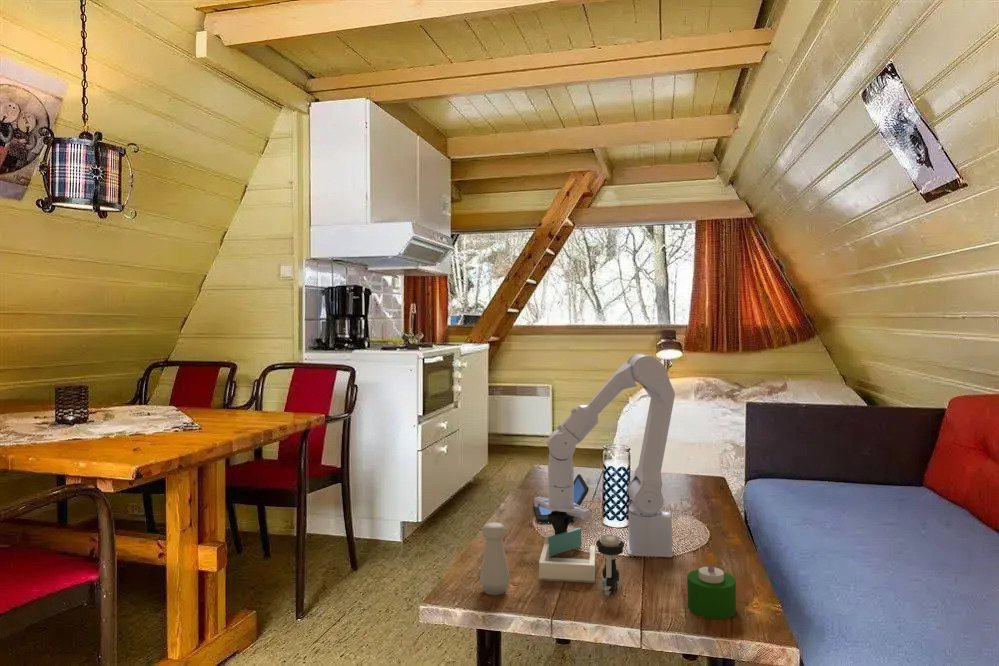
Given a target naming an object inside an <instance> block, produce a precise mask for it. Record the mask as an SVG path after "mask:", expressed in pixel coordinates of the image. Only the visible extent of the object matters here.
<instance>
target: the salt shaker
mask: <svg viewBox="0 0 999 666" xmlns="http://www.w3.org/2000/svg"><path fill="white" fill-rule="evenodd" d="M482 535H483V538H485V543H484V550H483V558H482V562H481V569H480V576H479V582H480V584H481V586H482V588H483V589H484V592H485V594H487V595H491V596H497V595H503V594H505V591H506V590H507V587H508V585H509V583H510V579H511V578H510V572H509V566H508V562H507V561H508V560H507V557H506V556H507V555H506V552H505V551H506V550H505V546H504V541H503V538H504V537H505V535H506V527H505V525H504V524H503V523H500V522H487V523H486V524H484V525H483V529H482Z"/></svg>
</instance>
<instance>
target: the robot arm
mask: <svg viewBox="0 0 999 666" xmlns="http://www.w3.org/2000/svg"><path fill="white" fill-rule="evenodd" d="M667 372H668V371H667V368H666V367H665V366H664V365H663V364H662V362H661V361H660V360H659V359H657V358H656V357H655V356H652V355H648V354H646V353H640V352H638V353H635V354H633V355H632V356H630V357H629V359H628V360H627V362H624V363H622V365H621V366H619V367H618V369H617V370H616V371H615V372H614V373H613V374H612V375H611V376H610V377H609V379H608V380H607V381H606V382H605V383H604V384H603V386H602V387H601V388H600V389H599V390H598V392H597V393H596V394H595V395H594V396H593V397H592V398H591V400H590V401H589V402H588V404H580V405H578V406H577V407H575V406H573V407H572V408H571V409H570V414H569V415H568V417H567V418H566V419H565V420H564V421H563V422H562V424H560V423H559V424H557V425H556V429H557V430H554V431H552V432H551V433H550V434H549V436H548V438H547V441H546V445H547V448H548V450H549V454H548V465H547V470H548V471H547V472H548V473H547V478H548V479H547V480H548V482H547V484H548V485H547V489H548V490H547V492H548V493H547V497H545V496H538V497H537V496H536V497H533V499H534V502H533V503H534V506H535V507H543V508H546V509H547V510H550V511H552V512H551V513H550V514H548V519H549V520H550V522H551V523H550V524H551V526H552V528H553V531H554V535H557V534H560V533H563V532H566V531H568V528H569V525H570V521H571V519H572V518H573V519H574V517H575V518H579V519H580V520H582V521H586V520H589V519H590V517H591V516H590V509H589V508H585V507H583V506H582V505H580V506H579V505H577V504H575V503H574V480H575V477H574V473H575V472H574V463H573V457H574V456H573V455H574V454H575V452H576V448H577V447H576V445H577V444H578V445H579V444H580V443H581V442H582V441H583V440H584V439H585V437H586V436H588V434H589V433H590V432H591V431H592V430H593V429H594V428H595V427H596V426H597V425H598V424H599V415H600V413H602V411H603V410H605V408H606V407H607V406H608V405H609V404H610V403H612V401H613V400H614V399H615V398H616V397H617V396H619V394H620V393H621V392H623V391H624V390H626V389H630V388H631V389H632V388H637V387H638V384H639V385H641V386H642V388H643V389H644V391H645V392H646V393H647V394H648V396H649V397H650V401H649V406H648V412H647V418H646V423H645V427H644V433H643V439H642V446H641V450H640V455H639V461H638V466H637V467H636V468H635V471H634V475H633V478H632V479H631V481H630V482H629V483H628V486H627V495H628V496H629V498H630V499H631V504H630V505H629V507H628V541H626V547H627V548H626V549H627V555H628V556H635V557H636V556H637V557H657V558H673V544H674V543H673V541H674V539H673V528H672V525H673V524H672V514H671V512H670V511H664V510H662V508H663V506H664V496H663V493H662V487H663V486H662V485H663V479H662V478H663V477H662V467H663V463H664V462H663V461H664V457H665V452H666V446H667V441H668V435H669V429H670V423H671V419H672V413H673V408H674V401H675V397H676V396H675V395H676V394H675V390H674V388H673V385H672V383H671V381H670V378H669V375H668V373H667ZM637 383H638V384H637ZM534 506H533V507H534Z"/></svg>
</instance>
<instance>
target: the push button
mask: <svg viewBox="0 0 999 666" xmlns="http://www.w3.org/2000/svg"><path fill="white" fill-rule="evenodd" d="M595 543H596V545H595V546H597V552H598V553H600V554H601V555H602V556H604V557H605V559H604V560H605V561H604V562H605V564H604V568H603V569H602V578H603V579H602V581H601V583H602V584H601V585H602V586H601V587H602V589H603V593H604V596H609V595H614V592H615V591H616V589H617V591H619V590H620V589H619V588H620V572H619V570H618V569H617V563H616V557H618V556H619V555H621V554H623V553H624V547H625V542H624V541H622V540H621V539H620V537H619V536H618V535H615V534H614V535H613V534H604V535H602V536H601V537H600V539H597V540H596V542H595Z"/></svg>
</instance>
